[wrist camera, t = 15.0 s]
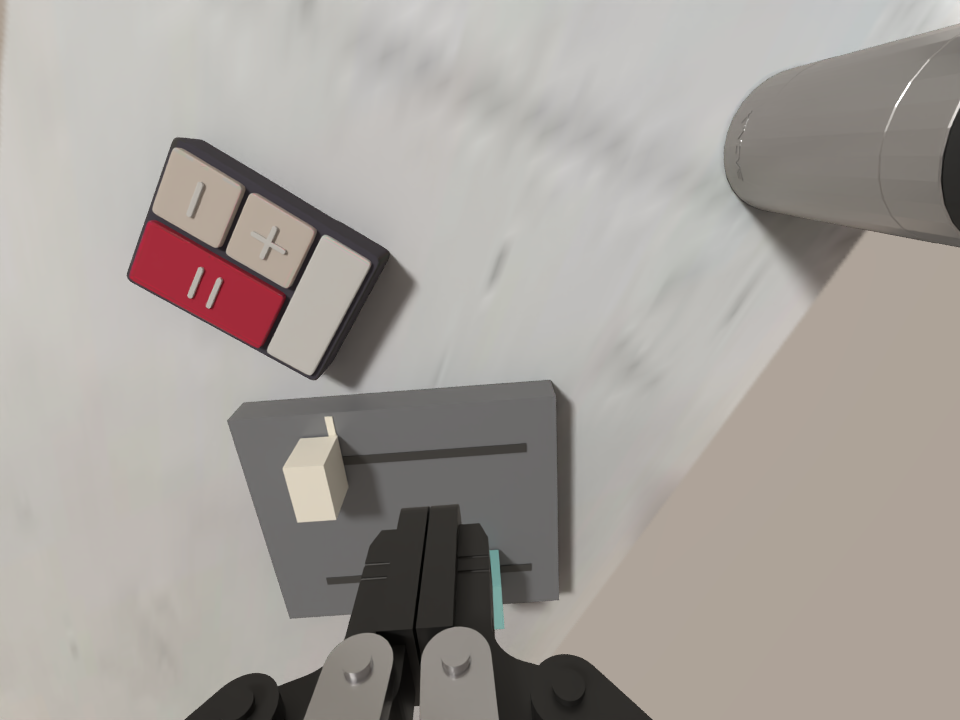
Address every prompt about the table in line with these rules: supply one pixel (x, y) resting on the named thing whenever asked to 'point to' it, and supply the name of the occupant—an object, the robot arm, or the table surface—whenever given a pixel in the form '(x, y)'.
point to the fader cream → (316, 479)
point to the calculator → (253, 258)
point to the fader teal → (497, 590)
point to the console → (408, 481)
